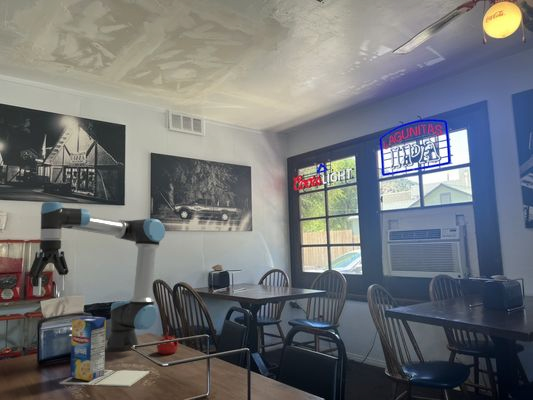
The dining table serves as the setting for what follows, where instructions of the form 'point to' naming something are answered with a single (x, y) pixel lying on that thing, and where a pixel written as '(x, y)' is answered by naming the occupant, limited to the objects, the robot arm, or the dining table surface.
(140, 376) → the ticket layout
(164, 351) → the pomegranate
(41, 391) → the dining table surface
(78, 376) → the blue cardboard box
